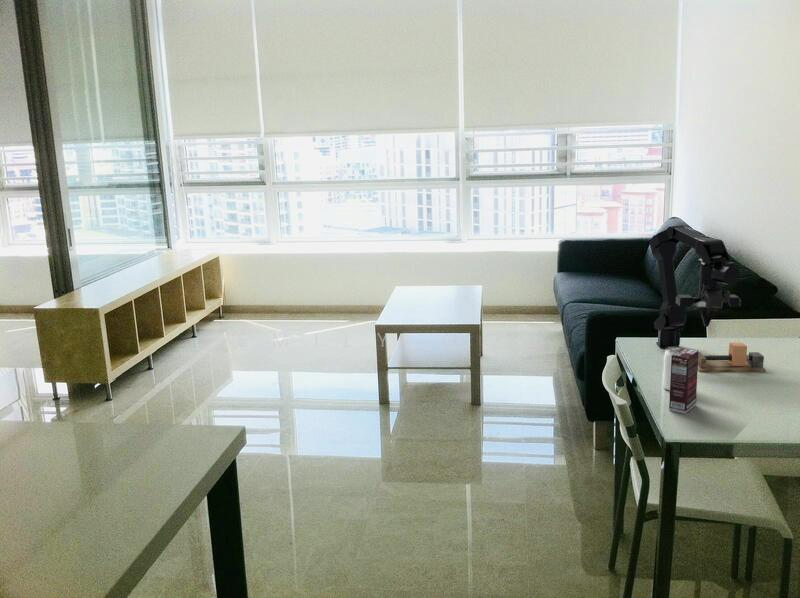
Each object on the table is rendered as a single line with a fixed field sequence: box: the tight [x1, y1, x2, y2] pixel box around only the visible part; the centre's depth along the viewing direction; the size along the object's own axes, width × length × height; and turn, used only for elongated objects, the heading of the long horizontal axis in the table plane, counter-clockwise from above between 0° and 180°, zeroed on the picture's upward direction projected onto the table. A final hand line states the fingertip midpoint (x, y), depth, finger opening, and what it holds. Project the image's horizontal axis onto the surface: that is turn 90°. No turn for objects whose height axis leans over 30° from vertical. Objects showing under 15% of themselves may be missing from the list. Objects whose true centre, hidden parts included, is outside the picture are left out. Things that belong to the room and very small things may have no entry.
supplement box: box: [668, 347, 699, 415], centre depth 204 cm, size 9×5×16 cm, turn 141°
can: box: [662, 346, 683, 392], centre depth 220 cm, size 6×6×12 cm
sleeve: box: [727, 342, 748, 366], centre depth 237 cm, size 4×4×6 cm
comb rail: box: [697, 351, 767, 373], centre depth 238 cm, size 20×9×4 cm, turn 85°
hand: (706, 326), depth 242 cm, fingers closed
